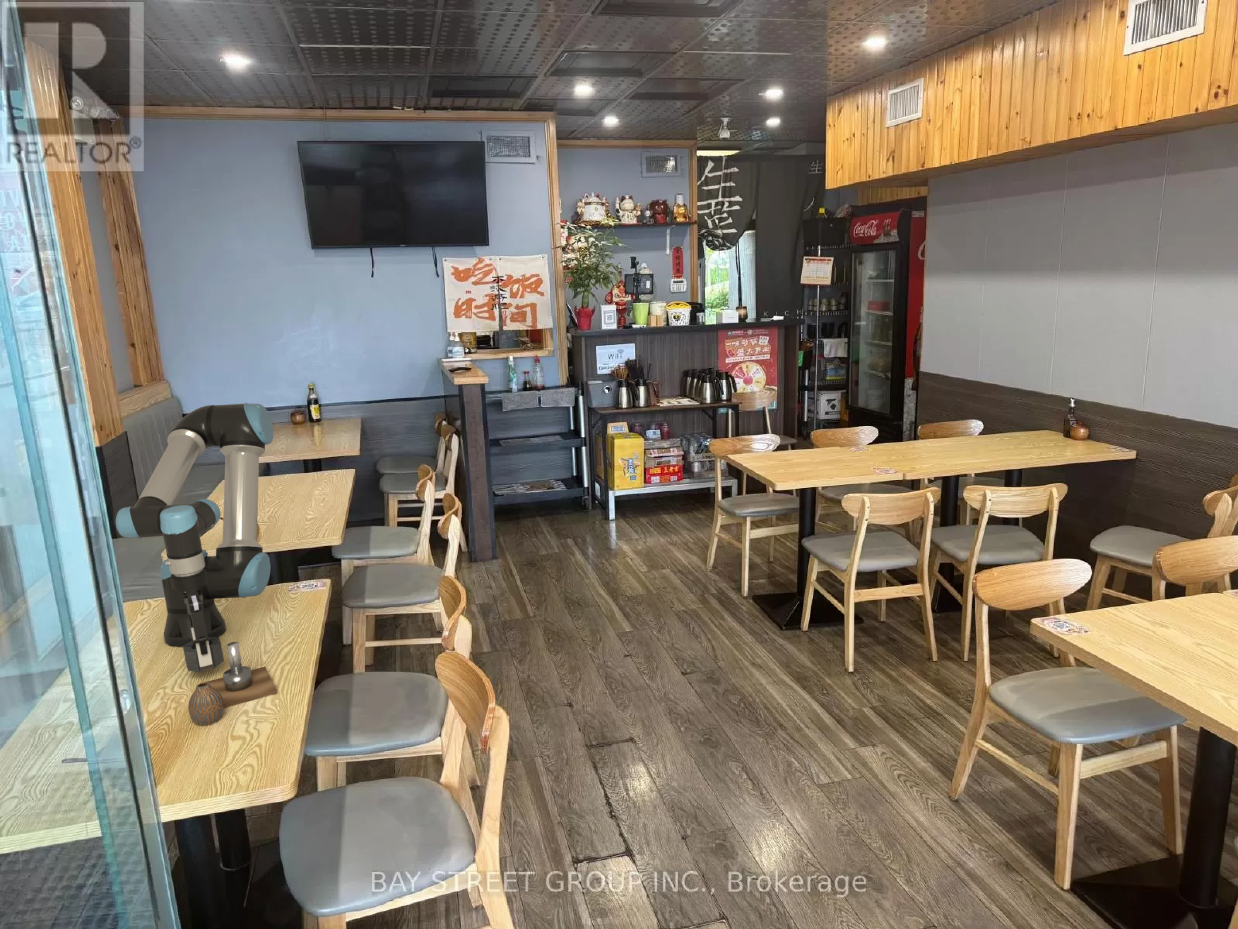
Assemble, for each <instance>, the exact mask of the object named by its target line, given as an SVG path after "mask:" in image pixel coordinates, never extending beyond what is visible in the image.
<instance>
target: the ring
mask: <svg viewBox="0 0 1238 929" xmlns="http://www.w3.org/2000/svg"><path fill="white" fill-rule="evenodd" d="M220 639H221V638H220V637H209V640H208V642H209V647H210V653H211V658H212V664H211V665H207V666H203V667H200V665H199V659H198V654H197V648H196V643H195V644H193V642H192V641H191V642H189V643H188V644H186V645H185V646H183V647H182V649H183V655H184V660H185V665H186V669H187V671H188V672H196V673H200V672H206V671H207V670H212V669H215V668H217V667H218V666H219V665H221V664H223V663H224V662H225V660H224V654H223V647H222V641H221V640H220ZM193 641H195V640H193Z"/></svg>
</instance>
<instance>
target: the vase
mask: <svg viewBox="0 0 1238 929" xmlns="http://www.w3.org/2000/svg"><path fill="white" fill-rule="evenodd" d="M188 700H189V701H188V704H187V705H188V714H189V717H190V719H191V721H193V722H194V723H195V724H196V725H200V726H209V725H212V724H215V723H216V722H218V721H219V720H220V718H221V717H222V715H223V713H224V709H225V708H224V702H223V698H222V696H221V694H220V693H219V692H218V691H217V690H216V689H215V688H213V687H212V686H211V685H210V684H209V683H208V682H207V681H203V682H200V683H197V685H196V687H195V689H194V691H193V693H192V694H191V696H190V697H189V699H188Z"/></svg>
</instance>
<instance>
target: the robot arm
mask: <svg viewBox="0 0 1238 929" xmlns="http://www.w3.org/2000/svg"><path fill="white" fill-rule="evenodd" d="M273 439H274V427H273V422H272V419H271V415H270V414H269V412H268V410H267V408H266V407H265V406H264V405H262V404H260V403H248V402H244V403H237V404H235V403H233V404H232V403H231V404H216V405H215V404H211V405H209V404H208V405H205V406H200V407H198V408H196V409H194V410H193V411H191V412H189V413H187V414H185V416H184V417H183V418H181V419H180V420H179V421H178V422H177V423H176V424H175V425H174V426H173V427H172V428H171V431H170V432H169V434H168V436H167V440H166V441H167V447H165V450H164V452H163V454H162V456H161V458H160V459H159V461H158V463H157V465H156V467H155V469H154V470H153V472H152V474H151V476H150V477H149V479H148V481H147V482H146V485H145V487H144V489H143V491H142V492H141V494H140V495H139V498H138V499H137V501H136V502H135V504H134V505H133V506H128V507H127V506H126V507H123V508H121V509H119V510H118V512H117V514H116V518H115V527H116V531H117V532H118V533H119V535H120V536H121V537H123V538H131V539H132V538H133V539H134V538H135V539H137V538H138V539H141V538H152V537H153V538H154V537H162V538H163V543H164V548H165V553H166V557H167V559H165V560H163V561H162V563H161V564H160V567H159V568H160V581H161V584H162V585H161V586H162V589H163V590H162V591H163V595H164V601H165V607H166V613H167V615H166V620H165V621H166V622H165V625H164V631H163V638H164V643H165V645H167V644H168V645H167V646H169V645H170V647H178V648H181V647H182V648H183V646H185V645H186V644H188V643H189V642H191V641H192V642H193V644H195V643H196V648H197V654H198V659H199V665H200V667H203V666H207V665H211V664H212V658H211V653H210V647H209V642H208V640H209V637H218V638H220V637H221V636H222V635H223V634H225V633H226V630H227V626H226V621H225V619H224V617H223V615H222V613H221V612H220V610H219V609H218V607H217V605H216V603H215V600H218V599H235V598H241V599H242V598H243V599H245V598H249V597H257V596H260V595H261V594H262V593H263V592H264V591H265V589H266V588H267V585H268V584H269V580H270V575H271V569H272V568H271V559H270V556H269V555H268V554H267V553H266V552H264V550H263V548H264V547H263V546H262V545H261V544H260V543H259V542H258V515H259V514H258V513H259V512H258V511H259V510H258V509H259V507H258V506H259V477H260V476H259V475H260V471H259V470H260V468H259V467H260V460H259V459H260V457H261V456H262V455H263V454H264V453H265V452H266V445H270V444H272V443H273ZM212 447H213V448H214V447H219V452H221V454H223V456H224V457H225V458H224V459H225V460H224V462H225V463H224V487H223V488H224V489H223V490H224V491H223V515H222V516H223V517H222V520H223V522H222V542H221V543H220V544H218V545H217V547H215V555H209V553H208V551H207V550H206V549H203V547H202V541H201V540H202V539H201V538H202V537H203V536H204V535H205V534H206V533H208V532H209V531H210V530H212V529H214V528H215V526H216V525H217V524H218V522H219V521H220V520H221V513H222V512H221V509H220V507H219V505H218V504H216V502H214V501H213V500H211V499H208V498H200V499H198V500H195V501H193V502H192V503H186V504H185V503H184V504H181V503H180V504H174V503H175V500H176V498H177V497H178V495H179V493H180V491H181V489H182V487H183V485H184V483H185V481H186V479H187V477H188V475H189V473H190V471H191V469H192V467H193V465H194V463H195V461H196V459H197V457H201V455H203V454H204V452H205V451H206V449H209V448H212ZM193 640H195V641H193Z"/></svg>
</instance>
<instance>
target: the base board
mask: <svg viewBox="0 0 1238 929" xmlns="http://www.w3.org/2000/svg"><path fill="white" fill-rule="evenodd" d="M251 673H252V680H253V684H252V685H251V686H250V687H249V688H247V689H244V690H241V691H236V692H229V691H226V690H225V685H224V678H223V676H222V677H219V678H215V679H211V680H207V681H206V682H208V683H209V684H210V685H211V686H212V687H213V688H215V689H216V690H217V691H218V692H219V693H220V694H221V696H222V698H223V702H224V709H226V708H229V707H231V706H235V705H236V706H237V705H239V704H243V703H247V702H250V701H254V700H257V699H262V698H264V697H268V696H271V695H275V694H277V693H278V691H277V686H276V685H275V683H274V681H273V680H272V677H271V675H270V673H269V672H268V669H267V668H266V666H261V667H257V668H253V669H251Z"/></svg>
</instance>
